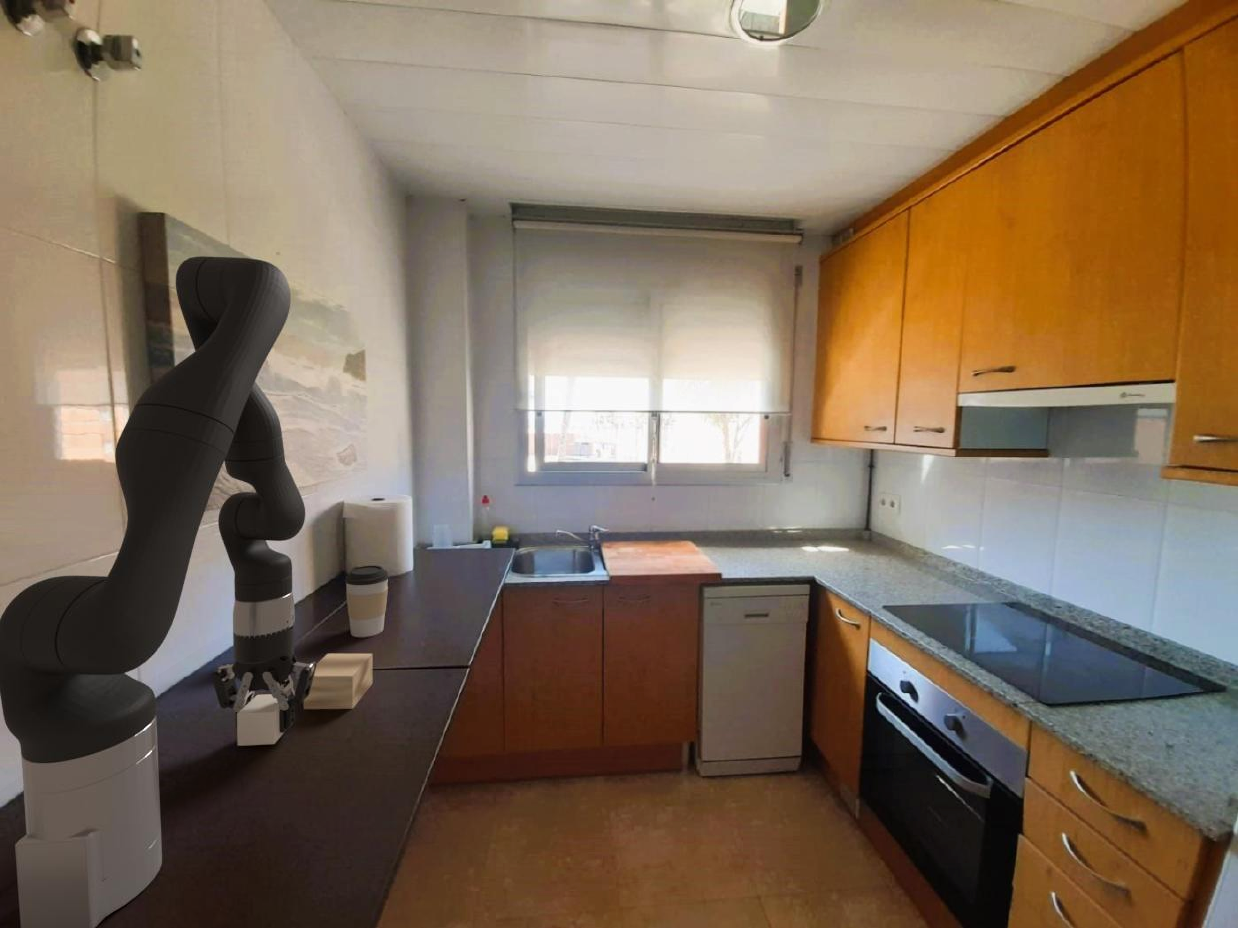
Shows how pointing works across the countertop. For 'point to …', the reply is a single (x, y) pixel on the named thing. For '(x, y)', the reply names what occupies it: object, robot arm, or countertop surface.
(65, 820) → the robot arm
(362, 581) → the coffee cup
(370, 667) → the oak block
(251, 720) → the cream cube
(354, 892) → the countertop surface
